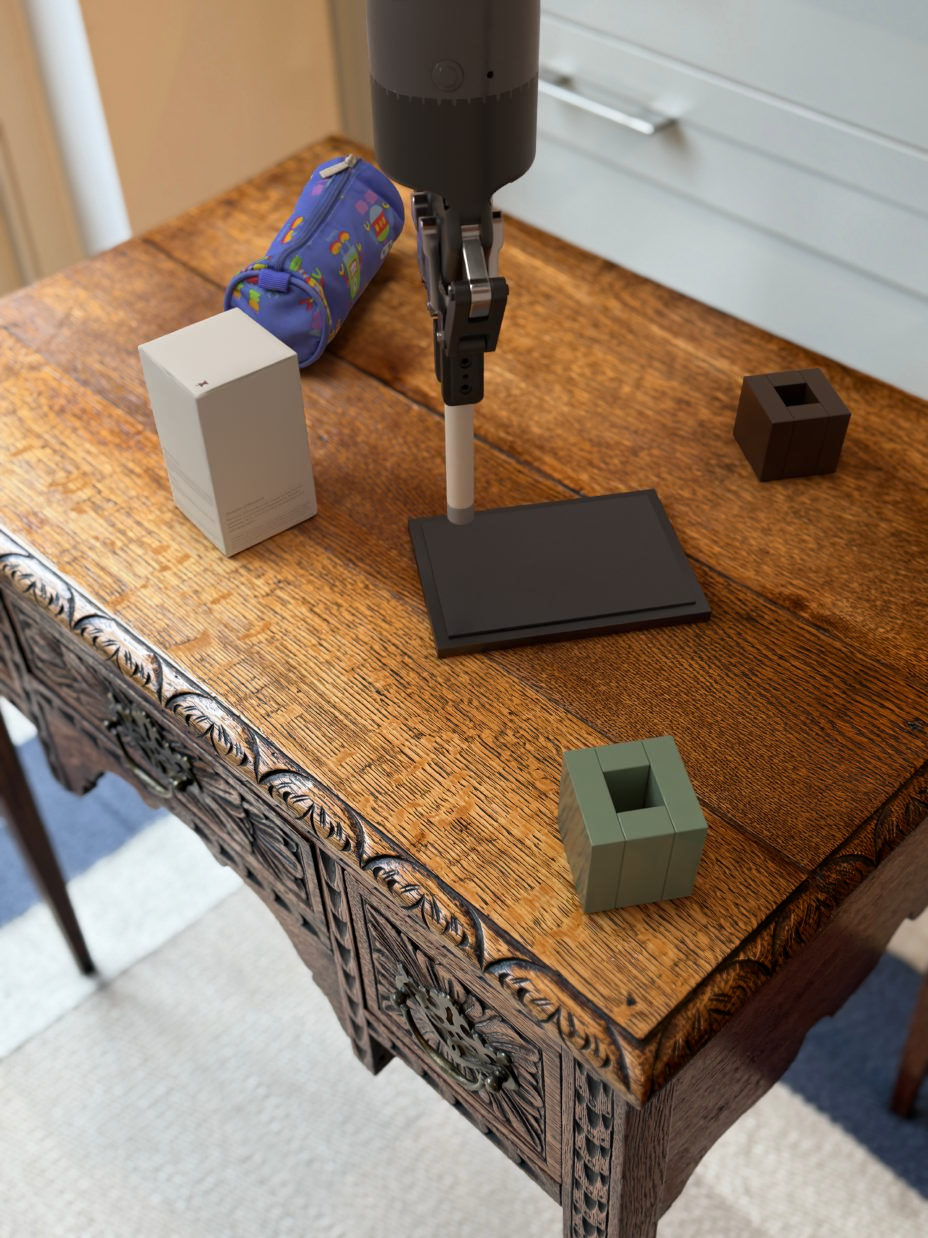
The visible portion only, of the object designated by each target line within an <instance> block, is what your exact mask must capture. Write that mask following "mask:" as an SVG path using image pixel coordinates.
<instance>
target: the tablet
mask: <svg viewBox="0 0 928 1238" xmlns="http://www.w3.org/2000/svg"><path fill="white" fill-rule="evenodd" d="M407 530H408V533H409V534H408V535H409V539H410V543H411V548H412V552H413V558H414V561H415V565H416V570H417V573H418V579H419V583H420V587H421V592H422V597H423V600H424V605H425V609H426V613H427V617H428V622H429V626H430V631H431V635H432V639H433V643H434V648H435V652H436V656H437V658H438V659H442V658H448V657H455V656H462V655H470V654H478V653H484V652H490V651H498V650H506V649H513V648H520V647H526V646H533V645H541V644H548V643H555V642H562V641H563V642H564V641H569V640H576V639H584V638H591V637H598V636H605V635H610V634H611V635H613V634H620V633H627V632H633V631H641V630H648V629H655V628H662V627H670V626H677V625H684V624H691V623H697V622H704V621H705V622H707V621H710V620H711V619H712V614H713V610H712V608H711V605H710V604H709V601H708V599H707V596H706V595H705V593H704V590H703V588H702V586H701V584H700V581H699V580H698V578H697V576H696V574H695V571H694V569H693V567H692V565H691V562H690V561H689V559H688V557H687V554H686V552H685V550H684V548H683V545H682V544H681V542H680V539H679V537H678V535H677V533H676V531H675V529H674V527H673V524H672V523H671V520H670V518H669V516H668V513H667V512H666V509H665V507H664V506H663V503H662V501H661V499H660V497H659V495H658V493H657V490H656V488H648V489H640V490H632V491H625V492H616V493H609V494H608V493H607V494H600V495H592V496H584V497H577V498H567V499H560V500H551V501H544V502H537V503H536V502H535V503H528V504H520V505H519V504H518V505H513V506H505V507H496V508H488V509H481V510H474V518H473V520H472V521H471V522H469V523H467V524H464V525H457V524H454V523H452V522H450V521H449V519H448V517H447V514H440V515H432V516H426V517H425V516H424V517H416V518H409V519H407Z"/></svg>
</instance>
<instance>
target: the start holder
mask: <svg viewBox="0 0 928 1238" xmlns="http://www.w3.org/2000/svg"><path fill="white" fill-rule="evenodd" d="M826 376H827V375H825V374H824V372H823V371H822V369H821V367H813V368H811V367H810V368H805V369H794V370H784V371H776V372H766V373H762V374H751V375H744V376H743V377H742V378H743V379H742V384H741V388H740V394H739V399H738V404H737V409H736V415H735V420H734V426H733V431H732V435H733V437H734V439H735V441H736V442H737V444H738V446H739V448H740V450H741V452H742V453H743V455H744V456H745V459H746V460H747V461H748V464H749V465H750V467H751V469H752V471H753V472H754V475H756V478H757V480H758V481H759V482H766V481H775V480H781V479H782V480H783V479H790V478H791V479H792V478H799V477H800V478H801V477H807V476H814V475H816V476H817V475H824V474H831V473H836V471H837V469H838V465H839V461H840V459H841V453H842V450H843V446H844V443H845V439H846V435H847V432H848V428H849V424H850V421H851V418H852V412H851V410H850V409H849V407H848V406H847V404H846V403H845V402H844V400H843V399H842V397H841V396H840V395H839V393H838V392H837V391H836V389H835V387H834V386H833V385H832V383H831V382H830V381H829V379H828V378H827V377H826Z"/></svg>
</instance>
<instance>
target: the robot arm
mask: <svg viewBox="0 0 928 1238" xmlns="http://www.w3.org/2000/svg"><path fill="white" fill-rule="evenodd" d="M541 4H542V3H541V0H365V25H366V26H365V27H366V42H367V56H368V70H369V71H368V72H369V87H370V104H371V116H372V117H371V119H372V120H371V121H372V133H373V136H372V137H373V149H374V150H373V151H374V158H375V162H376V164H377V167H378V168H379V169H380V171H381V172H382V173H383V174H384V175H385V176H386V177H387V178H388V179H389V180H390V181H392V182H393V183H396V184H397V185H399V186H402V187H405V188H407V189H410V190H413V192H411V193H410V215H411V218H412V222H413V226H414V228H415V231H416V252H417V265H418V269H419V273H420V280H421V284H423V287H424V289H425V290H426V295H427V300H426V309H427V312H429V316H430V318H432V327H433V328H432V331H433V334H432V335H433V362H434V374H435V378H436V380H437V382H438V383H440V393H441V394H440V395H441V397H442V400H443V403H445V404H446V405H447V406H461V405H469V404H474V405H476V404H479V403H481V402H482V401H483V400H484V396H485V353H495V352H496V350H497V346H498V342H499V337H500V332H501V329H502V325H503V320H504V316H505V312H506V309H507V304H508V296H509V295H510V287H509V284H508V283H507V280H506V277H505V276H499V253H500V251H501V250H502V249H503V246H504V244H505V243H504V238H505V235H504V234H505V231H504V230H505V229H504V227H505V225H504V217H503V216H504V215H503V211H502V209H501V208H498V209H494V196H493V195H495V194H496V193H497V192H498V191H499V190H501V189H502V188H504V187H505V186H507V185H509V184H512V183H514V182H516V181H518V180H519V179H521V178H522V177H523V176H524V175H526V173H527V172H528V171H529V170H530V169H531V167H532V166H533V164H534V162H535V159H536V154H537V134H538V133H537V132H538V131H537V130H538V107H539V106H538V105H539V104H538V103H539V101H538V100H539V71H540V43H541V42H540V41H541V15H542V14H541V13H542V12H541V11H542V10H541V7H542V5H541ZM445 404H444V405H445Z"/></svg>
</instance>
